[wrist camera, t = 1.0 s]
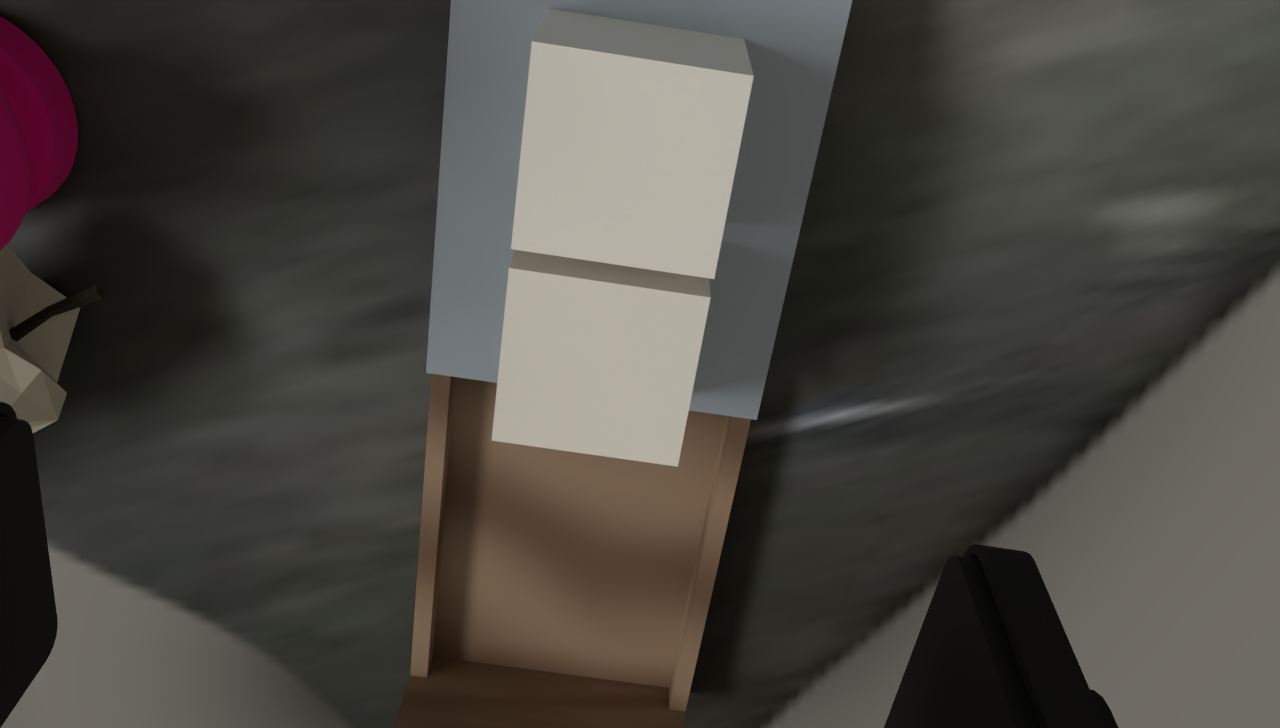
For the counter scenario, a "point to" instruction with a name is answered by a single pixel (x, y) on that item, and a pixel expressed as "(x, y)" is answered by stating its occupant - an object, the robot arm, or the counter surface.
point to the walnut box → (561, 574)
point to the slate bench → (760, 197)
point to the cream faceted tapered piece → (34, 340)
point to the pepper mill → (31, 128)
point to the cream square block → (598, 357)
